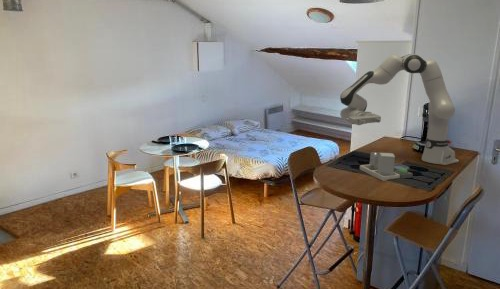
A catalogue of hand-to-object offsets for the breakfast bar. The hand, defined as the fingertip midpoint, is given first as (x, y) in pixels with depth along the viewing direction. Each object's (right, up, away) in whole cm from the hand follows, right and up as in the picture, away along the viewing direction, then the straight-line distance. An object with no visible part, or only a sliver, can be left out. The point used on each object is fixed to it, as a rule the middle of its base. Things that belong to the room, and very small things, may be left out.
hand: (372, 121), depth 229 cm
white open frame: (0, -30, -10) cm, 32 cm away
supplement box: (+2, -31, -15) cm, 35 cm away
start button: (+12, -31, -15) cm, 36 cm away
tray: (+15, -28, -1) cm, 31 cm away
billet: (-1, -29, -6) cm, 29 cm away
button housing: (+12, -31, -15) cm, 37 cm away
